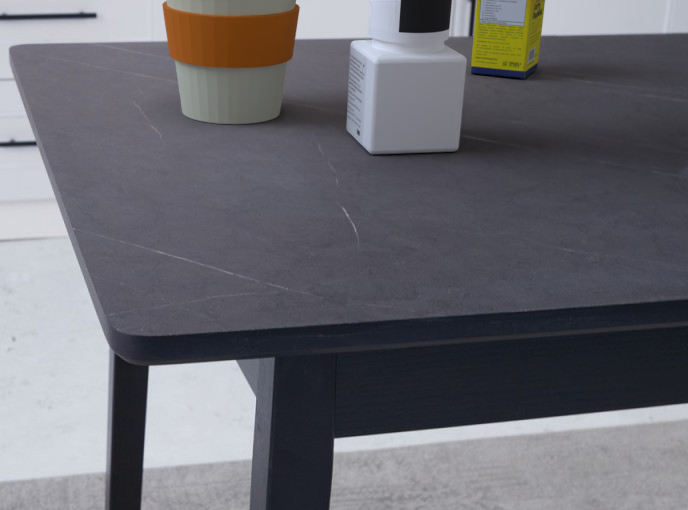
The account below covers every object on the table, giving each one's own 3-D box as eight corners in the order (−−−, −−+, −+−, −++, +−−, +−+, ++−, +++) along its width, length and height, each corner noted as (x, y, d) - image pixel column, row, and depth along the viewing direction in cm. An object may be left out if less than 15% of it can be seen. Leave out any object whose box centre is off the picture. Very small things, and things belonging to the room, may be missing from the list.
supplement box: (537, 69, 125) (550, -38, 120) (524, 80, 120) (537, -31, 115) (484, 64, 127) (494, -42, 122) (469, 74, 122) (479, -36, 117)
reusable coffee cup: (235, 89, 113) (236, -75, 106) (328, 114, 105) (335, -62, 98) (133, 109, 105) (127, -68, 98) (225, 137, 97) (225, -52, 90)
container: (429, 128, 102) (442, -28, 96) (459, 152, 95) (475, -14, 89) (345, 131, 100) (352, -27, 94) (369, 155, 93) (379, -13, 87)
